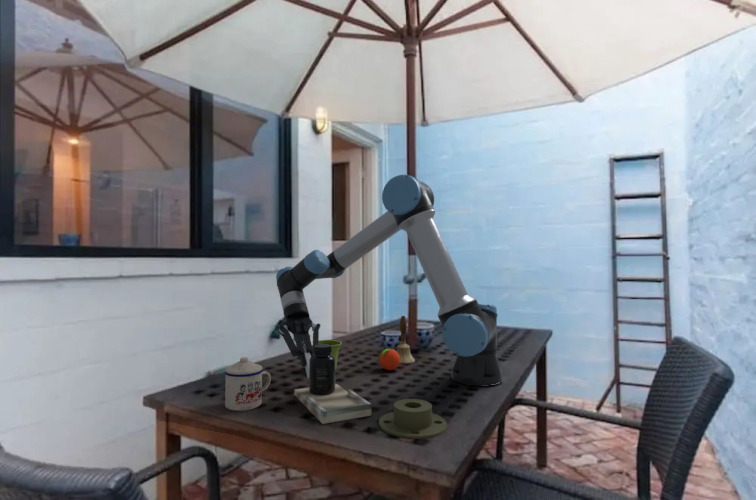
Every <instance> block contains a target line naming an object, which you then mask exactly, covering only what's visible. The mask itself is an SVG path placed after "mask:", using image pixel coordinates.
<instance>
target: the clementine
mask: <svg viewBox="0 0 756 500" xmlns="http://www.w3.org/2000/svg"><path fill="white" fill-rule="evenodd" d="M378 362H379V365H380V367H381V368H382V369H384V370H385V371H393V370H396V369H397V368H398V367H399V365H400V356H399V354H398V353H397V350H395V349H394V348H391V347H388V348H385V349H383V350H382V351H381V352H380V353H379V356H378Z"/></svg>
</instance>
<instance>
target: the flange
mask: <svg viewBox="0 0 756 500" xmlns="http://www.w3.org/2000/svg"><path fill="white" fill-rule="evenodd" d="M393 403H394V404H393V411H390V412H388V413H384V414H383V415H382V416H381V417H380V418H379V419H378V426H379V428H380V430H381V431H384V432H385V433H386V434H388V435H391V436H395V437H399V438H404V439H413V440H414V439H416V440H417V439H429V438H433V437H437V436H440V435H442V434H444V432H446V430H447V429H448V424H447V423H448V422H447V420H446V419H444V418H443V417H442V416H440V415H438V414H436V413H433V404H432V403H431V402H429V401H427V400H424V399H418V398H403V399H399V400H397V401H395V402H393Z"/></svg>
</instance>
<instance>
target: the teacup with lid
mask: <svg viewBox="0 0 756 500" xmlns="http://www.w3.org/2000/svg"><path fill="white" fill-rule="evenodd" d="M224 375H225V388H224V389H225V390H224V391H225V392H224V393H225V395H224V402H225V403H224V406H225V408H226V409H227V410H230V411H237V412H238V411H240V412H241V411H249V410H250V411H251V410H254V409H256V408H258V407H260V406H261V405H262V404H263V403H262V399H263V398H262V396H263V395H262V394H263V392H264V391H266V390H267V389H268V387H269V386H270V384H271V379H272V375H271V373H270V372H268V371H265V370H264V368H263V366H262V365H260V364H259V363H254V362H253V361H251V360H250V361H249V357H247V356H244V357H240V359H239V361H237V362H236V363H234V364H231V365H230V366H228V367H226V368H225V371H224ZM263 375H266V382H265V383H264V385H263Z"/></svg>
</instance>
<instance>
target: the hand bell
mask: <svg viewBox="0 0 756 500" xmlns="http://www.w3.org/2000/svg"><path fill="white" fill-rule="evenodd" d="M407 329H408V323H407V318H406V316H405V315H400V321H399V331H400V344H398V345H397V346H396V351H397V353H398V354H399V356H400V363H399V365H400V364H401V365H402V364H413V363H415V362H416V360H415V358H414V357H413V356H412V353H411V347H410V345H409V344H407V343H406V341H407V340H406V334H407V333H406V332H407Z"/></svg>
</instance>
